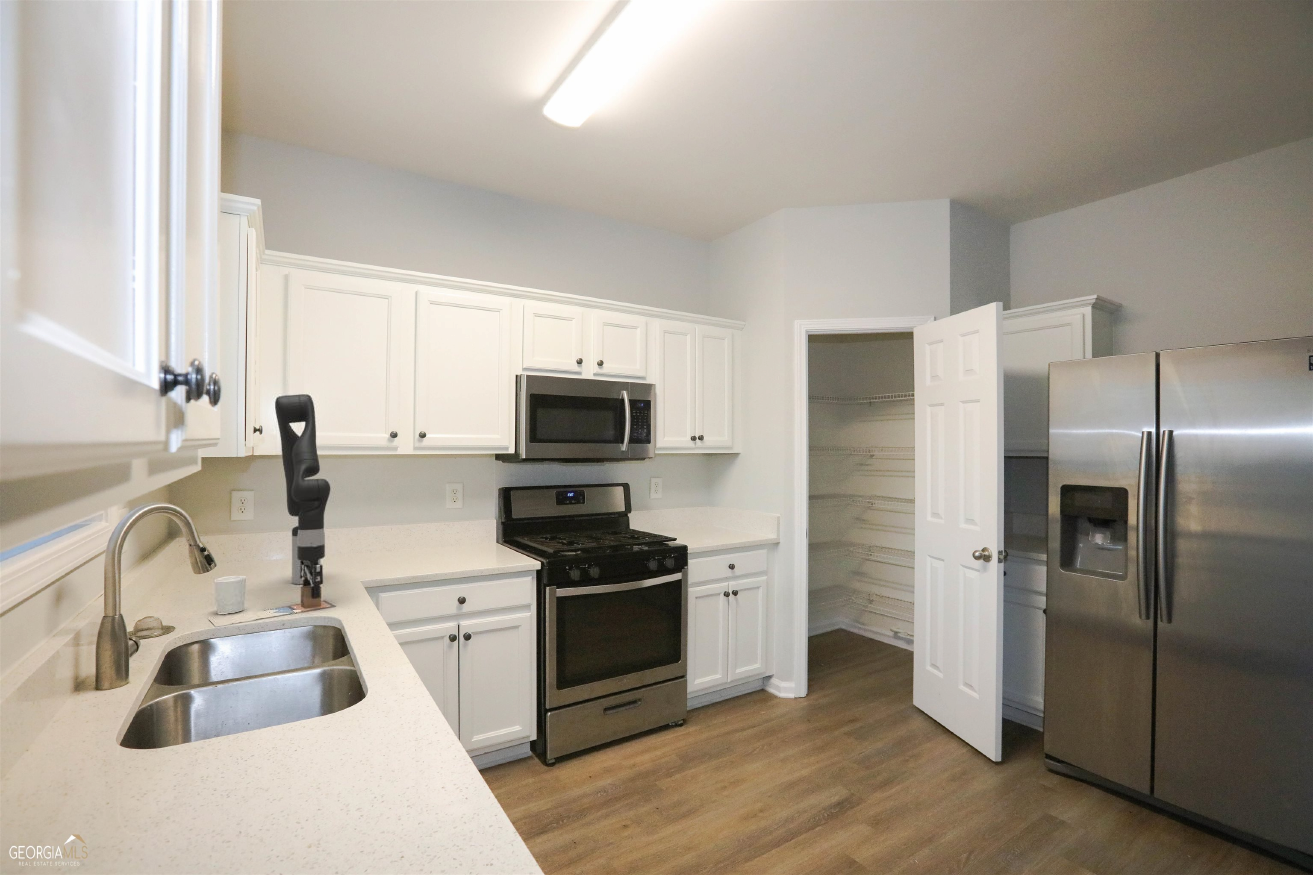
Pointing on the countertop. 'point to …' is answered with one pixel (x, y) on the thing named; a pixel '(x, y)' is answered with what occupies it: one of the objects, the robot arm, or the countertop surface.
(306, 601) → the walnut block
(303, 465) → the robot arm
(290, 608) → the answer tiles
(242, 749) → the countertop surface
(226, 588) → the white cup
